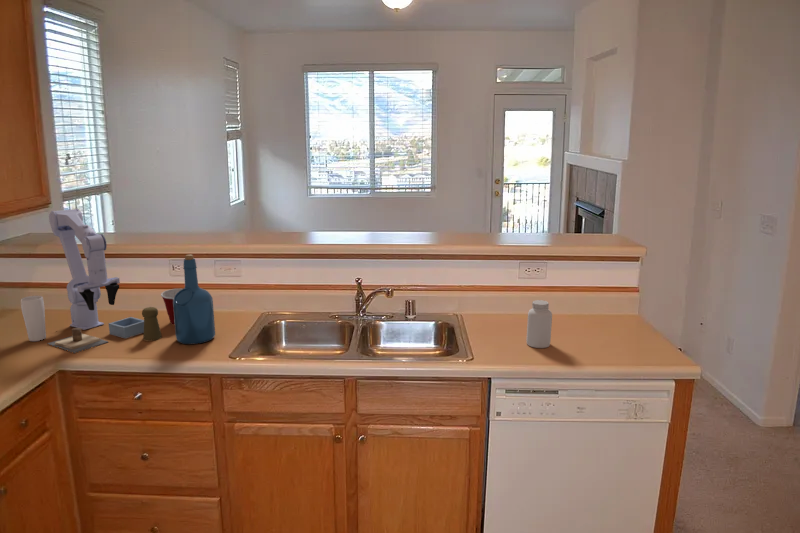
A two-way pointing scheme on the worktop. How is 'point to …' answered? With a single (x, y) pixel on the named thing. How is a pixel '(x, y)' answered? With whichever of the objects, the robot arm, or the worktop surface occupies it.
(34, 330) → the drinking glass
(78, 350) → the mat
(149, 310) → the olive green shaker
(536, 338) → the pill bottle
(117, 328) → the dish
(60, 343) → the lid
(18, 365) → the worktop surface
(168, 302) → the plastic cup
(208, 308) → the wine bottle
